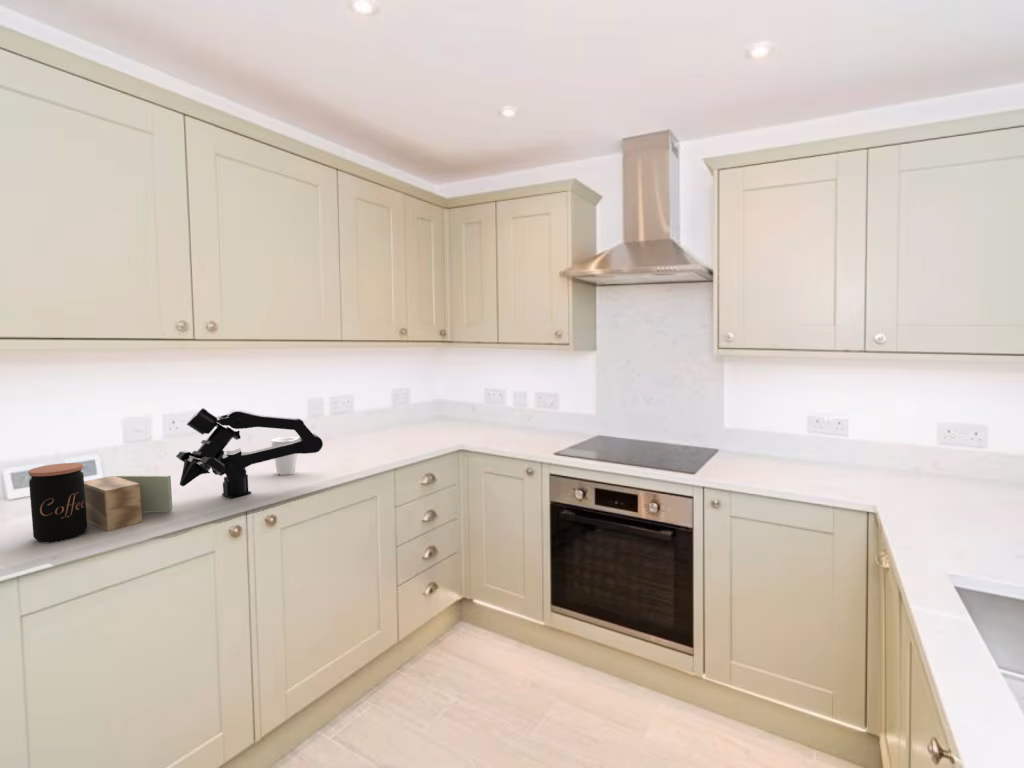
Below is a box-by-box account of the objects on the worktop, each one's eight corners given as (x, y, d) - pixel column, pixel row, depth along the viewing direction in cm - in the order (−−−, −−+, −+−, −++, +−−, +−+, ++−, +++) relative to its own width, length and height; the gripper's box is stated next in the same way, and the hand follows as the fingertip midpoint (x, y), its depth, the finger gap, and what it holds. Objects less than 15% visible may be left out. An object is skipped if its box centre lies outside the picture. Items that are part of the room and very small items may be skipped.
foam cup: (283, 469, 206) (282, 436, 205) (304, 470, 204) (303, 437, 203) (267, 475, 197) (266, 441, 196) (289, 476, 195) (288, 442, 194)
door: (121, 508, 157) (118, 474, 156) (175, 509, 157) (173, 474, 156) (115, 511, 155) (112, 476, 154) (169, 512, 154) (167, 476, 153)
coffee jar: (37, 547, 129) (31, 475, 128) (30, 536, 136) (25, 468, 135) (91, 535, 137) (86, 467, 136) (83, 525, 144) (78, 460, 143)
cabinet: (115, 512, 155) (113, 475, 154) (141, 522, 147) (139, 483, 146) (82, 520, 148) (79, 482, 147) (108, 531, 140) (105, 490, 139)
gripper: (250, 460, 168) (218, 503, 160) (219, 454, 178) (186, 494, 170) (224, 440, 161) (189, 484, 152) (193, 434, 171) (158, 476, 163)
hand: (181, 485), depth 160 cm, fingers closed
